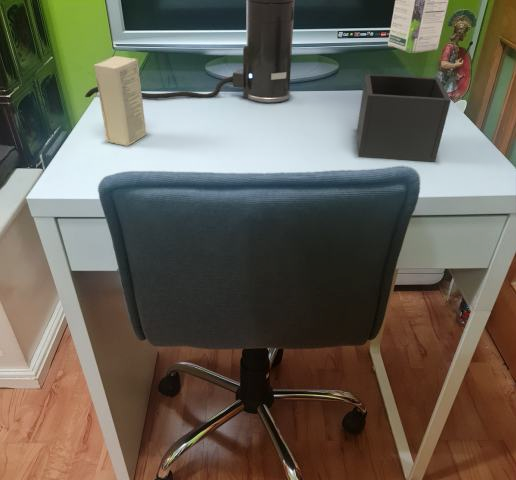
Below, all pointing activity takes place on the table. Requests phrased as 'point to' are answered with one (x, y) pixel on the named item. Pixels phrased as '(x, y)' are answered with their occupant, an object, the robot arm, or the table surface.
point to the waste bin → (401, 117)
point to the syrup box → (417, 25)
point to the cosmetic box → (121, 99)
